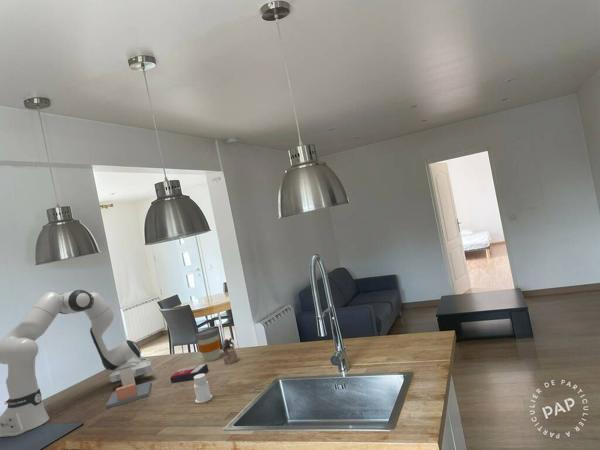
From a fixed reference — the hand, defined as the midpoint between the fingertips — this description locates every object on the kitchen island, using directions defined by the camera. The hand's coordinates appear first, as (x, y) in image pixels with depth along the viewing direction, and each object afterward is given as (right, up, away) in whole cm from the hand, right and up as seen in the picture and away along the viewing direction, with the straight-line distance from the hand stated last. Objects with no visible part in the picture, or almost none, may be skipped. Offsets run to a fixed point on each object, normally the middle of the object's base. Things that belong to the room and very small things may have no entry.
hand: (129, 376), depth 216 cm
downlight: (+44, +2, -35) cm, 56 cm away
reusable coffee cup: (+36, +1, +24) cm, 43 cm away
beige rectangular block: (+3, -4, -7) cm, 9 cm away
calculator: (+30, -1, 0) cm, 30 cm away
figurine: (+48, +4, +10) cm, 49 cm away
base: (+4, -6, -10) cm, 12 cm away
